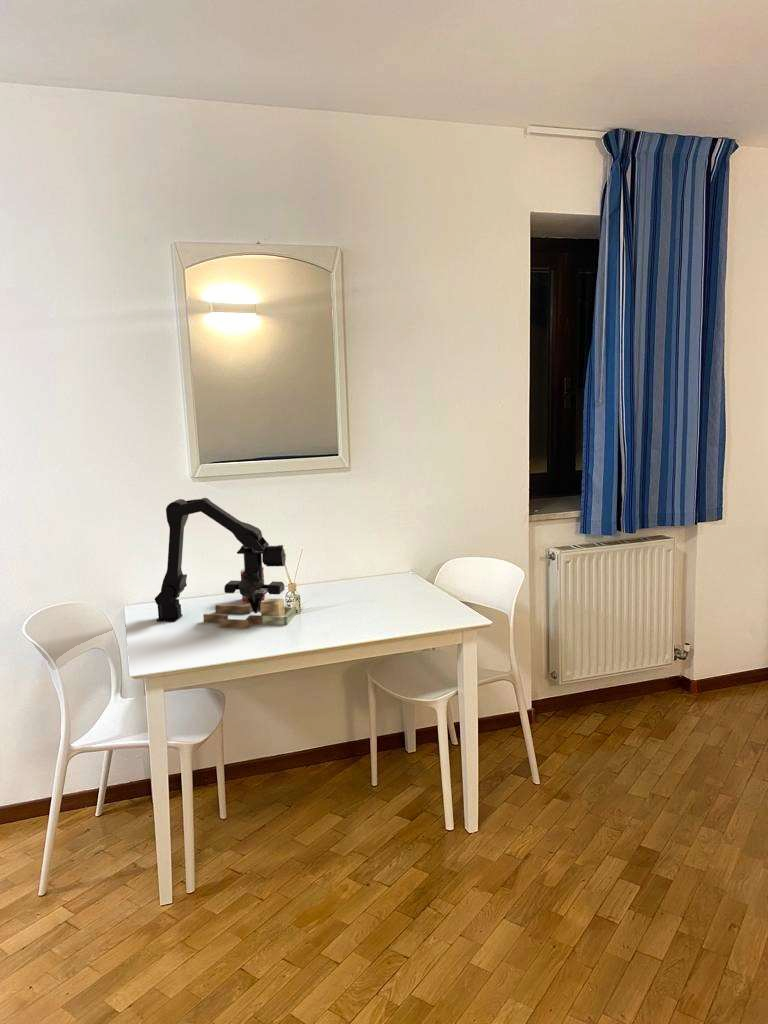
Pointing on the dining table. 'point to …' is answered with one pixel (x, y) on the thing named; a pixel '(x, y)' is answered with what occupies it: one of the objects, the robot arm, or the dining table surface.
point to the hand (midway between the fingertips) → (255, 612)
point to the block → (273, 607)
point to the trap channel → (250, 620)
